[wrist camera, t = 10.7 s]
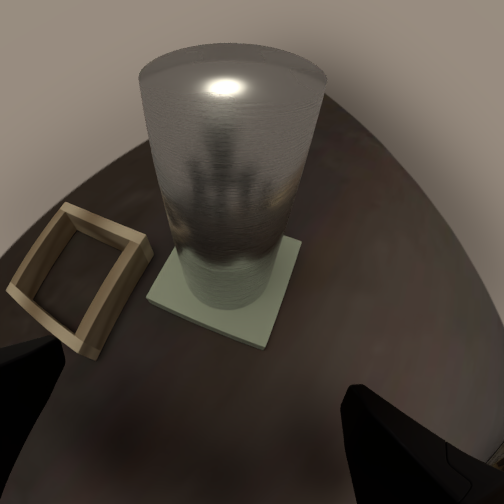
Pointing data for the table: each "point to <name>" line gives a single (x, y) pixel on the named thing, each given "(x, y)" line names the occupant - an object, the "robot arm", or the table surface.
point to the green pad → (227, 321)
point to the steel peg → (229, 158)
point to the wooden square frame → (112, 290)
